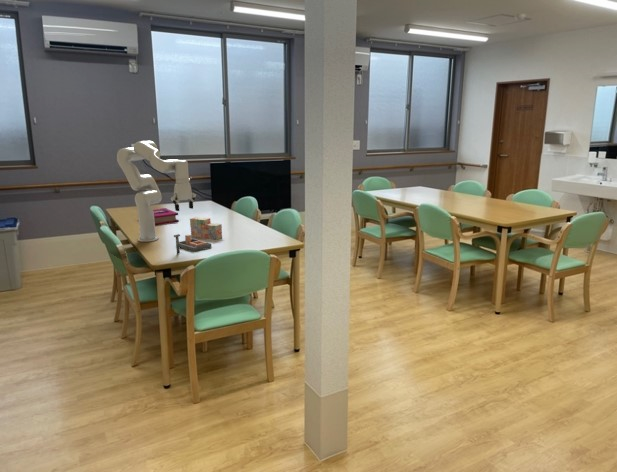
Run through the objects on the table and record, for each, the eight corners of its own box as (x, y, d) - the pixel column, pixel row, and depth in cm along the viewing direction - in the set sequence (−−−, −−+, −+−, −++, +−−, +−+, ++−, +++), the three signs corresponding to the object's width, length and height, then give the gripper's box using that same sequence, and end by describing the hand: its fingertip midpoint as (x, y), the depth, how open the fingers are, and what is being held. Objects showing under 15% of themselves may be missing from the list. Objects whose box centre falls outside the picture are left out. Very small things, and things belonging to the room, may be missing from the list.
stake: (175, 253, 269) (173, 235, 266) (180, 252, 271) (178, 234, 269) (176, 254, 268) (175, 235, 265) (181, 252, 270) (180, 234, 268)
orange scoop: (182, 245, 284) (181, 235, 283) (192, 243, 289) (191, 233, 288) (197, 249, 275) (196, 239, 274) (206, 247, 280) (206, 237, 279)
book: (152, 226, 342) (151, 216, 341) (139, 220, 364) (138, 210, 362) (179, 222, 355) (178, 212, 353) (166, 216, 376) (165, 207, 375)
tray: (176, 246, 284) (175, 242, 284) (193, 242, 293) (193, 238, 293) (194, 251, 272) (193, 247, 272) (211, 247, 282) (211, 243, 281)
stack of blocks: (222, 237, 305) (221, 219, 302) (216, 240, 300) (215, 221, 297) (197, 234, 315) (196, 216, 312) (190, 236, 310) (189, 218, 307)
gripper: (190, 179, 286) (192, 206, 290) (166, 182, 273) (168, 210, 278) (198, 180, 281) (200, 208, 285) (173, 183, 269) (175, 212, 273)
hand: (184, 209), depth 282 cm, fingers open, 9 cm apart
